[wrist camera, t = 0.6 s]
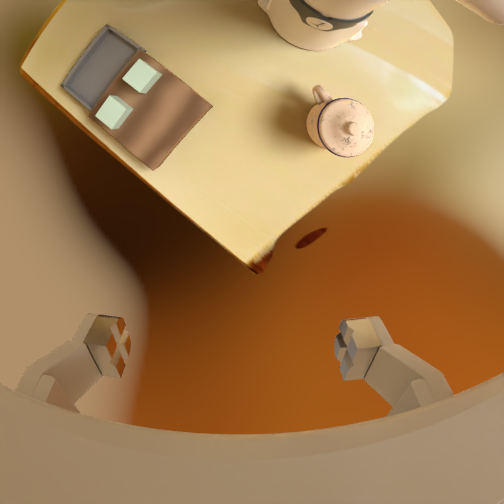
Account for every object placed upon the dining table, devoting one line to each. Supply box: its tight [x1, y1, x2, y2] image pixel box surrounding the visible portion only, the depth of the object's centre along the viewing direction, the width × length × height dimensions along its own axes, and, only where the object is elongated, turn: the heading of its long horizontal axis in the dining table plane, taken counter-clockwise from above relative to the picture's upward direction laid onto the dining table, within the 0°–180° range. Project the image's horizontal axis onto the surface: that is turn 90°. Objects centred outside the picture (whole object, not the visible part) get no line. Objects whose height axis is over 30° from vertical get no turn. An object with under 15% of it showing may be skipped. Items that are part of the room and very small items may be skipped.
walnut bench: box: [89, 50, 213, 171], centre depth 39 cm, size 16×14×4 cm
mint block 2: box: [123, 59, 162, 94], centre depth 33 cm, size 4×4×3 cm
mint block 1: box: [95, 95, 133, 130], centre depth 36 cm, size 4×4×3 cm
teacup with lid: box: [306, 85, 374, 157], centre depth 38 cm, size 12×9×12 cm
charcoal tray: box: [61, 24, 146, 111], centre depth 35 cm, size 10×14×2 cm
